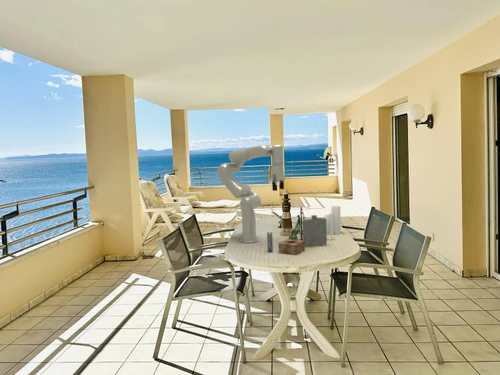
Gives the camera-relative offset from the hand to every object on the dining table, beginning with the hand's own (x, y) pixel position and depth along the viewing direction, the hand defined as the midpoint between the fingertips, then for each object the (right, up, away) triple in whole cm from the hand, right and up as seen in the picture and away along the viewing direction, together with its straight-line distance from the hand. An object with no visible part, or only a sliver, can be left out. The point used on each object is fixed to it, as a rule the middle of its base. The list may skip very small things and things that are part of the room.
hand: (278, 189), depth 260 cm
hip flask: (+24, -37, -2) cm, 44 cm away
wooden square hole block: (+7, -38, -15) cm, 42 cm away
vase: (+42, -33, +30) cm, 61 cm away
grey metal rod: (-6, -39, -14) cm, 42 cm away
